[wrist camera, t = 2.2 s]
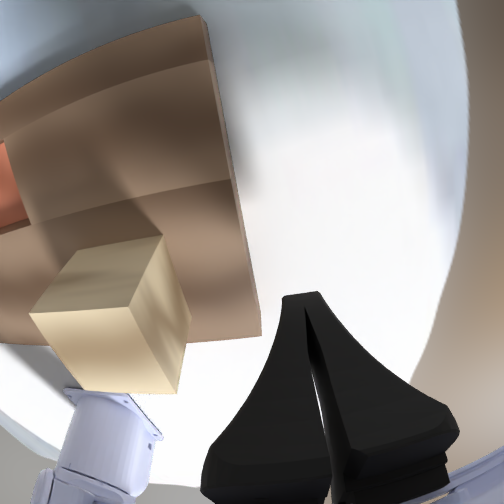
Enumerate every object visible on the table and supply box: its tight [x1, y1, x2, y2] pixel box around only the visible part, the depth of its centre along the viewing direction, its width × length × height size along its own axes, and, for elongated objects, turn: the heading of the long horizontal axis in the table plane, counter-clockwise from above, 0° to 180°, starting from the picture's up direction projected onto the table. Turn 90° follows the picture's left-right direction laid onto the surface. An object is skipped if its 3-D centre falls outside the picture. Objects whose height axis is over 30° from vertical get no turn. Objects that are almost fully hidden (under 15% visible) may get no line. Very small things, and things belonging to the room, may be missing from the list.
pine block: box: [29, 235, 192, 394], centre depth 13 cm, size 5×5×5 cm
